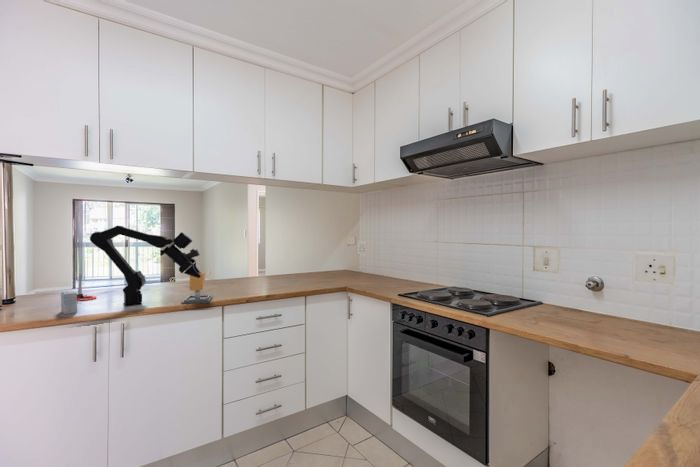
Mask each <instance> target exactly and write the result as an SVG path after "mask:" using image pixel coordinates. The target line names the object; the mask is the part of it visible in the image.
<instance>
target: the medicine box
mask: <svg viewBox="0 0 700 467" xmlns="http://www.w3.org/2000/svg"><path fill="white" fill-rule="evenodd" d="M60 294H61V295H60V299H61V300H60V301H61V302H60V303H61V304H60V306H61V309H60V310H61V312H62V313H63V314H64V315H71V314H77V313H78V301H77V294H78V292H76V291H75V290H70V291H69V290H68V291H62V292H61V293H60ZM70 313H71V314H70Z"/></svg>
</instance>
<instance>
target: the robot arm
mask: <svg viewBox="0 0 700 467" xmlns="http://www.w3.org/2000/svg"><path fill="white" fill-rule="evenodd" d="M120 235H121V236H124V237H128V238H132V239H135V240H139V241H142V242H145V243H146V244H149V245H151V246H153V247H155V248H158V249H161V250H159V251H160V256H161V257H162V256H163V255H166V256H168V258H169V259H170V260H172V262H173V263H174V264H176V265H177V266H178V267H179V268H178V272H180V274H183V275H184V274H185V275H187V276H190V275H191V276H194V277H197V278H200V275H199V274H198V273H197V272H201V271H200V270H199V268H198V267H197V260H196V259H195V257H198V256H200V253H199V250H198V249H195V248H192V249H190V251H189V252H188V253H185V252H183V251H181V250H182V249H183V250H185V249H186V248H187V247H189V245H190V244H191V243H192V242H193V240H192V239H191V237H189V236H188V235H187V234H185V233H184V232H179V234H178V235H177V236H176V237H175V238H174V239H173V238H168V237H167V236H164V235H157V234H149V233H146V232H143V231H142V232H141V231H139V230H134V229H132V228H129V227H125V226H123V225H116V226H114V227H111V228H108V229H106V230H103V231H95V232H93V233H92V234H91V235H90V237H89V241H90V242H91V244H93V245H94V246H95V247H97V248H99V250H101V251H102V252H104V253H105V254H106V255H107V257H109V259H110V260H111V262H113V263H114V265H115V266H116V267H117V269H118V270H119V271H120V272H121V273H122V275H123V276H124V279H125V282H126V283H127V284H126V285H125V287H124V288H123V289H122V293H123V304H122V305H124V307H130V306H138V305H142V303H143V293H141V292H142V291H141V289H142V287H144V286H145V284H146V281H147V279H146V275H144V274H143V272H142V271H141V270H138V271H136V270H134V269H133V267H132V266H131V265H130V264H129V263H128V261H127V260H126V259H125V258H124V256H123V255H122V253H120V252H119V250H118V249H117V248H116V247H115V245H114V242H113V240H112V239H114V238H115V237H117V236H120ZM163 248H164V249H163Z"/></svg>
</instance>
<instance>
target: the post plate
mask: <svg viewBox="0 0 700 467" xmlns="http://www.w3.org/2000/svg"><path fill="white" fill-rule="evenodd" d="M212 299H213V295H211V294H202V295H201V290H195V291H194V295H188V296H186V297H185V298H184V299H183V300H182V301H181V302H180V305H181V304H183V305H184V304H185V305H187V304H188V305H189V304H205V303H206V304H208V303H209V302H210V301H211V300H212Z"/></svg>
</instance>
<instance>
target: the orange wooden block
mask: <svg viewBox="0 0 700 467" xmlns="http://www.w3.org/2000/svg"><path fill="white" fill-rule="evenodd" d="M197 273H198V274H199V275H200V278H197V277H194V276H191V275H189V291H190V292H191V291H192V292H193V291H194V292H195V290H200V291H204V290H205V289H206V272H205V271H200V272H197Z"/></svg>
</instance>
